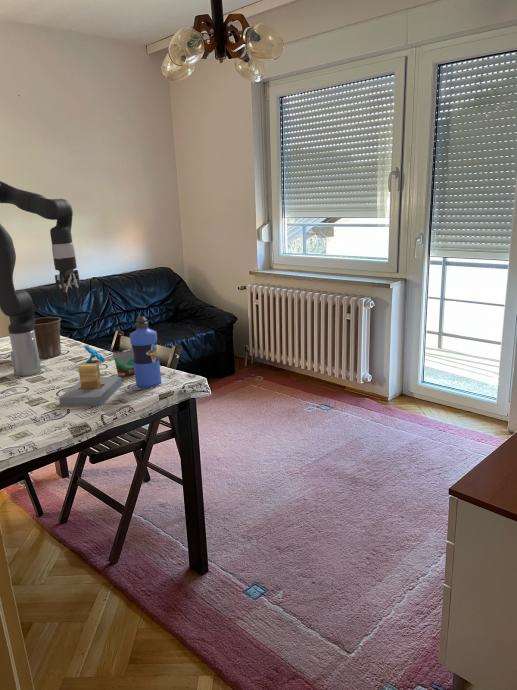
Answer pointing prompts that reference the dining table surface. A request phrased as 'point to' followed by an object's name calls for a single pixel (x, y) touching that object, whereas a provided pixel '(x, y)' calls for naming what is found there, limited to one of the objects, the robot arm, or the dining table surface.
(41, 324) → the plant pot
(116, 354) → the food container
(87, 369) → the keyed peg
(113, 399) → the dining table surface
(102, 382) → the keyed plate
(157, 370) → the water bottle
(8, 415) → the dining table surface
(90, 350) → the gear
